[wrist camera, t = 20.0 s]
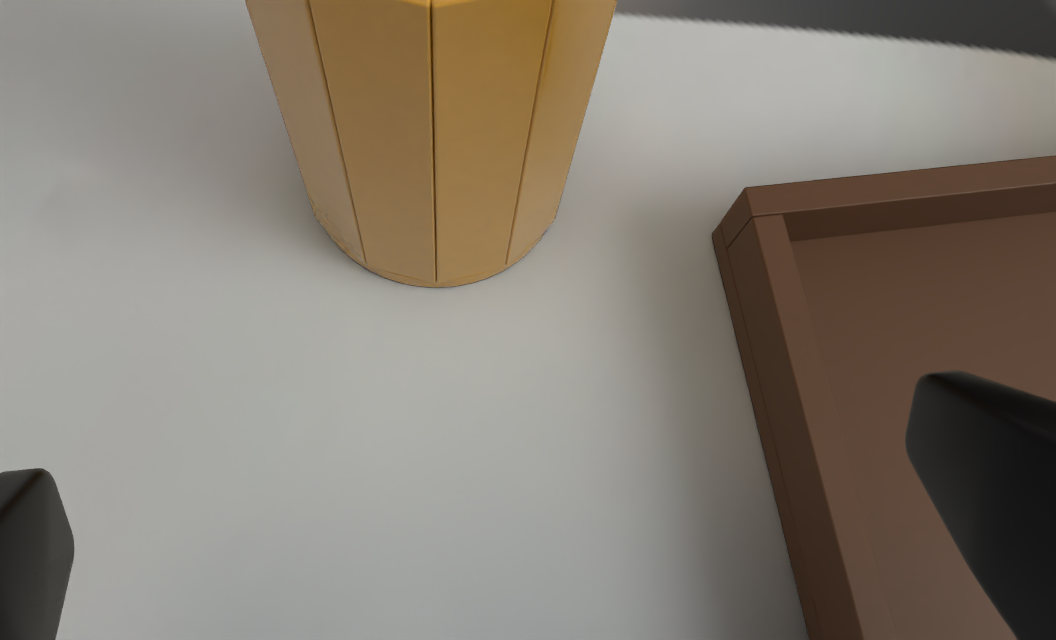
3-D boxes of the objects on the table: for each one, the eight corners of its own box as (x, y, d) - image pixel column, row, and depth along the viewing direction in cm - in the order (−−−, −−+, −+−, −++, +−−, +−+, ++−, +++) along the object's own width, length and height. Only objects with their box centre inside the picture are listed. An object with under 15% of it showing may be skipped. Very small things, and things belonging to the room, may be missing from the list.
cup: (612, 173, 24) (746, -173, 13) (436, 340, 22) (430, 89, 11) (437, 21, 25) (433, -410, 14) (253, 167, 23) (93, -210, 12)
